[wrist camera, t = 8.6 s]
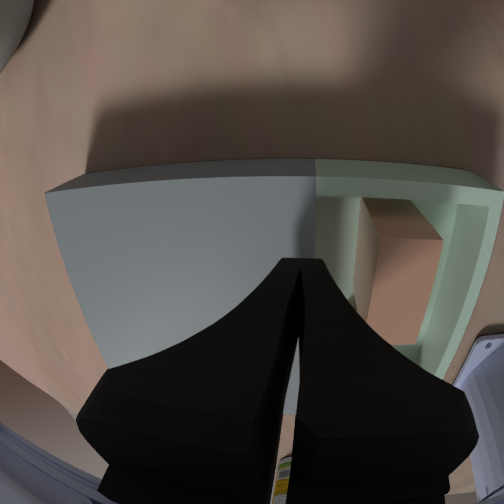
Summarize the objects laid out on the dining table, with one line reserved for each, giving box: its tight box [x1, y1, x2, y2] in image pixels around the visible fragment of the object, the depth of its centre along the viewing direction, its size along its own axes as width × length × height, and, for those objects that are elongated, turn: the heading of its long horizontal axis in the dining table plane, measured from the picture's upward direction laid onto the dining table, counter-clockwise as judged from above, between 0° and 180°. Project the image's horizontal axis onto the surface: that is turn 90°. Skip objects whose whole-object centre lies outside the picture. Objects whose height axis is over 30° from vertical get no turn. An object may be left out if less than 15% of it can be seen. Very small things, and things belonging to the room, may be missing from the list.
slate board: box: [45, 159, 316, 415], centre depth 14 cm, size 11×12×3 cm
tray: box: [315, 159, 504, 379], centre depth 12 cm, size 7×12×3 cm, turn 4°
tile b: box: [353, 197, 443, 345], centre depth 10 cm, size 4×4×2 cm
